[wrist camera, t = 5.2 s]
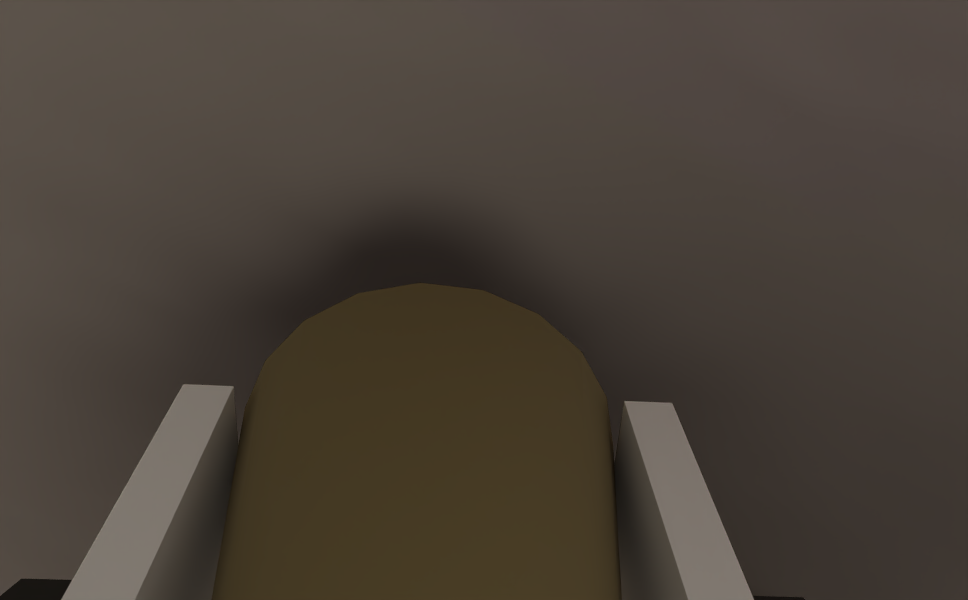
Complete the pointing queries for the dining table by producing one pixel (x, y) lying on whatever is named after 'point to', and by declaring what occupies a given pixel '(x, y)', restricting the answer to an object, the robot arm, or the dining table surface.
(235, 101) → the dining table surface
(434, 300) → the cork
